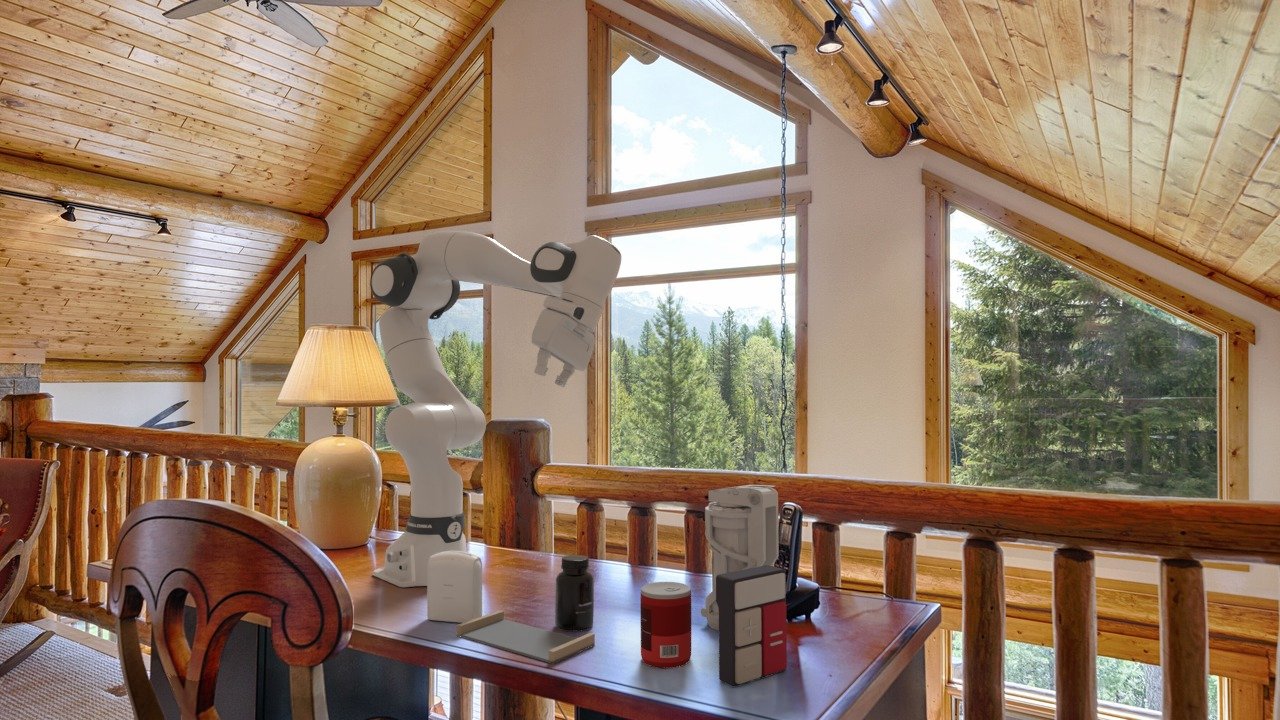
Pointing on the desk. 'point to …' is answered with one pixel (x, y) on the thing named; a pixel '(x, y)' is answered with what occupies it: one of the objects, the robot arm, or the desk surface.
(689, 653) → the canned food
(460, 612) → the photo printer
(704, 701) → the desk surface
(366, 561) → the desk surface
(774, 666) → the calculator
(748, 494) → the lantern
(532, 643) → the felt tray
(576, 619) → the supplement bottle
